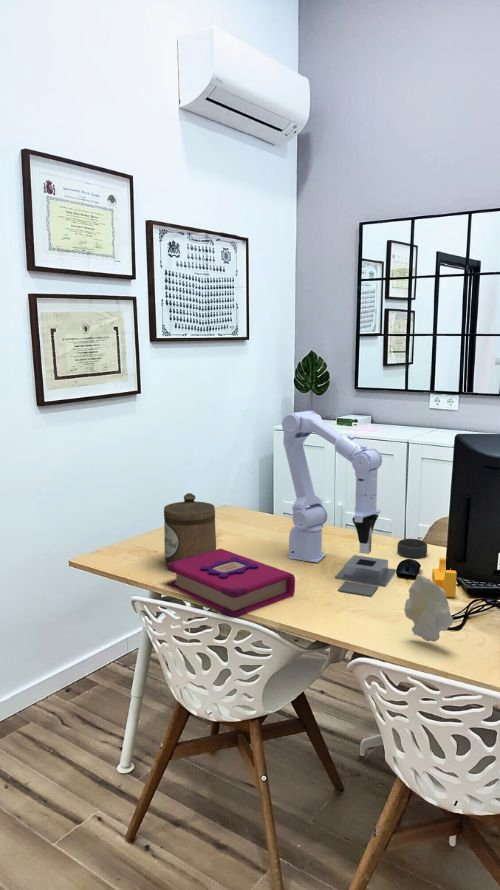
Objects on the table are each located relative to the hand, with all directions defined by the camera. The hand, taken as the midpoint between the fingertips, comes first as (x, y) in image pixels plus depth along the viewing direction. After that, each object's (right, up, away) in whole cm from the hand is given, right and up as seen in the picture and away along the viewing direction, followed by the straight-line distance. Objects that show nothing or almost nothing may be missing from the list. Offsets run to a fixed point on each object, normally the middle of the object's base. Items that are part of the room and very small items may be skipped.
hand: (364, 541), depth 180 cm
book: (-37, -12, -10) cm, 41 cm away
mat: (-3, -11, -9) cm, 15 cm away
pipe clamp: (+20, -12, -7) cm, 24 cm away
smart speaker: (+18, -7, +20) cm, 28 cm away
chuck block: (+1, -10, +2) cm, 10 cm away
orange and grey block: (0, -3, 0) cm, 3 cm away
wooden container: (-49, -9, +8) cm, 51 cm away
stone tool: (+7, -16, -38) cm, 42 cm away
